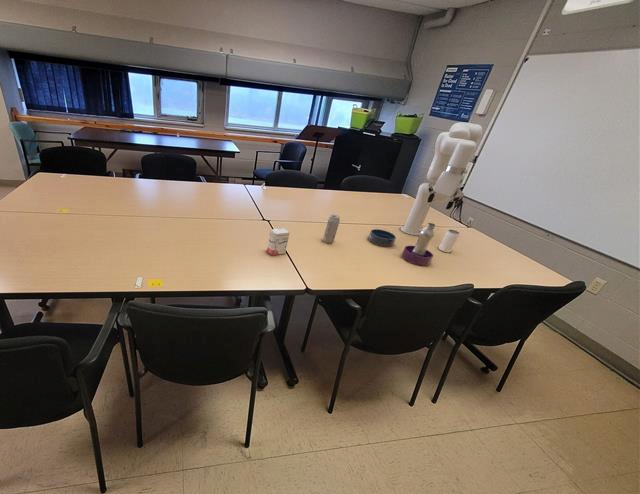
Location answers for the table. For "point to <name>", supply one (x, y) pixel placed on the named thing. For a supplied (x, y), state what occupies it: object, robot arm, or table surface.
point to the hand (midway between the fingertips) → (438, 205)
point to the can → (448, 240)
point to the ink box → (278, 241)
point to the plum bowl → (414, 258)
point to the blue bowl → (382, 237)
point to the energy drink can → (331, 229)
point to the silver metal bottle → (424, 240)
